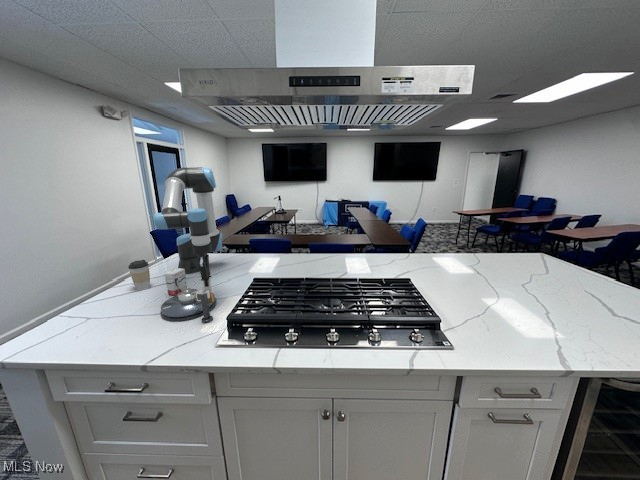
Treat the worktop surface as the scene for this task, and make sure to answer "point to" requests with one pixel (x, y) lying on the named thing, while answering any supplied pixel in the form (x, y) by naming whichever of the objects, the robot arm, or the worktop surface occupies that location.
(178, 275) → the ink box
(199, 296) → the dial post
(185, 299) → the cover
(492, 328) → the worktop surface
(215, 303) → the base
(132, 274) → the coffee cup
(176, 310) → the turntable
